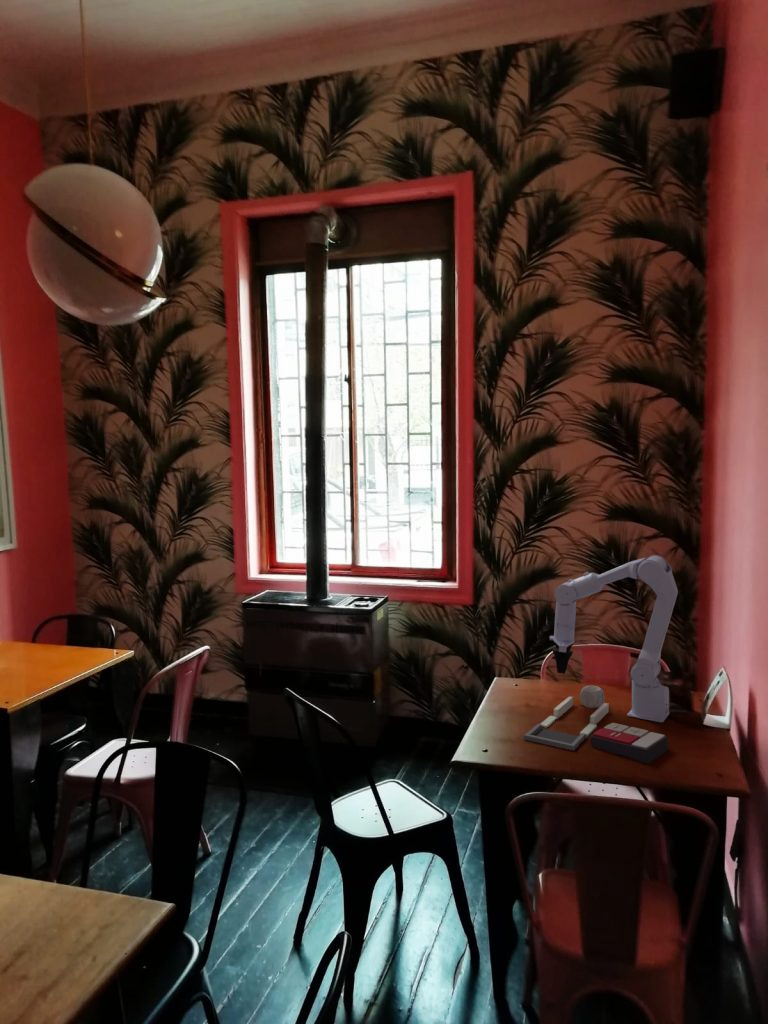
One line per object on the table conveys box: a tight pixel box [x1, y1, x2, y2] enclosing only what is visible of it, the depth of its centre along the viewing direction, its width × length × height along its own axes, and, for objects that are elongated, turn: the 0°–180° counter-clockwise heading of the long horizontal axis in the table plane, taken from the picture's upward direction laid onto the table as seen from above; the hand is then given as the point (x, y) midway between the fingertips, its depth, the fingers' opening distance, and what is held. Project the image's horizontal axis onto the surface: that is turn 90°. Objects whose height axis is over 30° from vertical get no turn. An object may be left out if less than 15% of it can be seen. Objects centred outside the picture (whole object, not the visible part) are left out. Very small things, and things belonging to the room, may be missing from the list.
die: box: [579, 685, 605, 709], centre depth 205 cm, size 5×5×5 cm
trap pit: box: [523, 723, 587, 752], centre depth 182 cm, size 13×9×1 cm
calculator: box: [590, 722, 669, 764], centre depth 176 cm, size 11×4×15 cm
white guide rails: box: [553, 696, 610, 725], centre depth 198 cm, size 11×12×2 cm
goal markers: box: [540, 715, 598, 738], centre depth 190 cm, size 13×8×1 cm, turn 55°
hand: (561, 668), depth 208 cm, fingers open, 7 cm apart
